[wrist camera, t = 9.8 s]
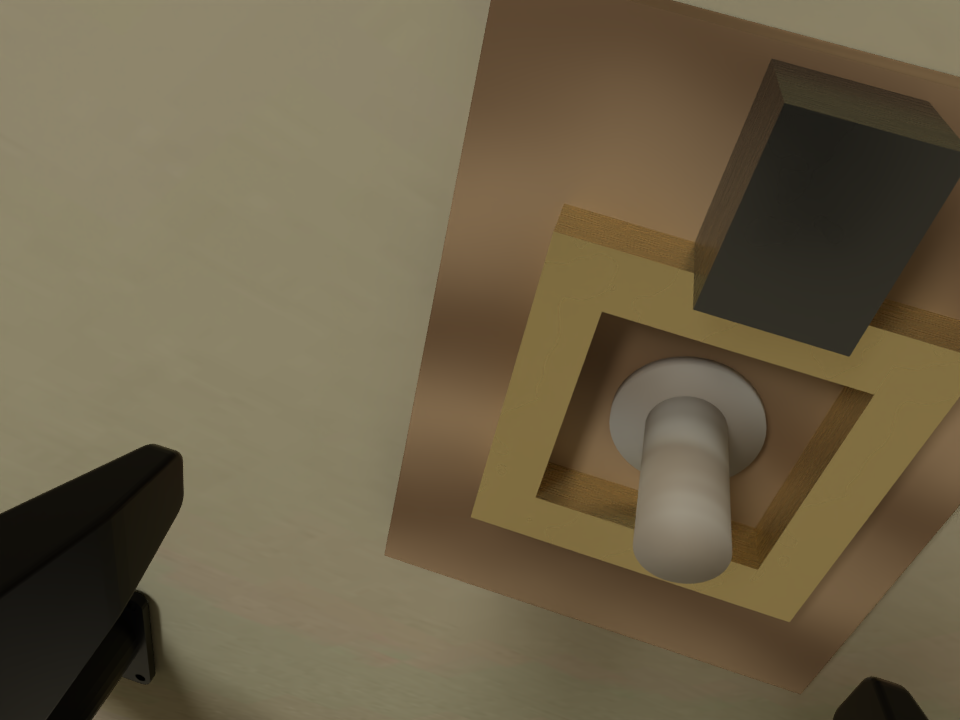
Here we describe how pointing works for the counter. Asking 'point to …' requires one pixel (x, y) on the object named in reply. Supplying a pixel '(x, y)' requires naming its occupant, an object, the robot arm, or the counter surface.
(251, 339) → the counter surface
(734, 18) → the plate
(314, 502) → the counter surface
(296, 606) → the counter surface
